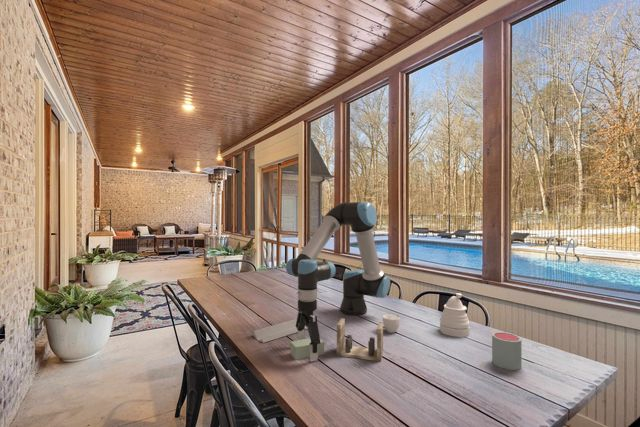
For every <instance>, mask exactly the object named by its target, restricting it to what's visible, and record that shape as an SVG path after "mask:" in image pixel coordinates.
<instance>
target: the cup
mask: <svg viewBox="0 0 640 427" xmlns="http://www.w3.org/2000/svg"><path fill="white" fill-rule="evenodd" d="M400 320H401V318H400V316H399V315H396V314H391V313H390V314H384V315H383V316H382V322H383V328H384V329H385V331H386V332H387V333H390V334H394V333H396V332H397V330H398V329H399V327H400V324H401V323H400V322H401V321H400Z"/></svg>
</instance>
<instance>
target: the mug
mask: <svg viewBox="0 0 640 427" xmlns="http://www.w3.org/2000/svg"><path fill="white" fill-rule="evenodd" d="M491 336H492V337H491V340H492V341H491V349H492V350H491V357H492V358H491V359H492V361H491V362H492V363H493V365H495V366H496V367H499V368H502V369H504V370H509V371H519V370H521V369H522V360H523V359H522V338H521V337H520V336H518V335H517V334H514V333H510V332H506V331H505V332H504V331H495V332H493V333H492V334H491Z"/></svg>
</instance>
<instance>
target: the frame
mask: <svg viewBox="0 0 640 427" xmlns="http://www.w3.org/2000/svg"><path fill="white" fill-rule="evenodd" d="M345 320H346V319H345V318H343V317H342V318H340V319H339V321H338V322H337V324H336V356H338V357H345V358H353V359H361V360H369V361H376V362H382V359H383V353H384V324H383V321H379V322H378V324H377V328H376V338H375V337H374V336H373V337H372V336H370V337H369V340H368V342H367V343H368V347H363V346H362V347H361V346H353V335H352V334H347V336H346V334H345V331H346V330H345V328H346V327H345V326H346V325H345V323H346V322H345ZM375 340H376V341H375ZM375 345H376V346H375Z"/></svg>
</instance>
